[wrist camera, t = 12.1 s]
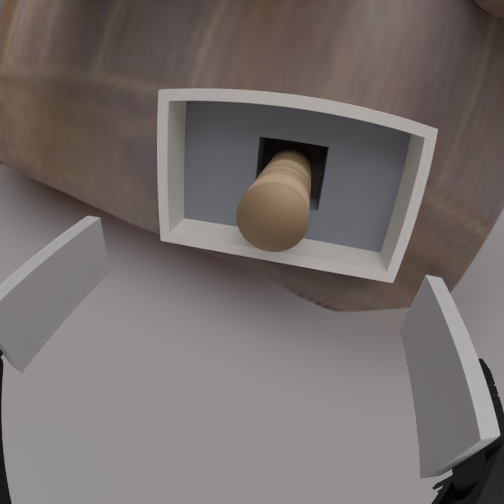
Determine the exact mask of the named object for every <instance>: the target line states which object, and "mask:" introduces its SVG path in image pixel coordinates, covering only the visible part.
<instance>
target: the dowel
mask: <svg viewBox="0 0 504 504" xmlns="http://www.w3.org/2000/svg"><path fill="white" fill-rule="evenodd" d="M311 175H312V163H311V159H310V157H309V156H308V154H307V153H306V152H305V151H304V150H302V149H300V148H298V147H285V148H283V149H281V150H279V151H278V152H277V153H276V154H275V156H274V157H273V158H272V159H271V161H270V162H269V163H268V165H267V166H266V167H265V169H264V170H263V171H262V172H261V174H260V175H259V176H258V178H257V179H256V180H255V182H254V183H253V184H252V186H251V187H250V188H249V190H248V191H247V192H246V194H245V195H244V196H243V198H242V199H241V201H240V202H239V205H238V208H237V212H236V221H237V225H238V228H239V231H240V232H241V234H242V236H243V237H244V238H245V239H246V240H247V241H248V242H249V243H250V244H251V245H253V246H254V247H256V248H258V249H261V250H264V251H268V252H281V251H285V250H288V249H290V248H292V247H294V246H295V245H297V244H298V243H299V242H300V241H301V240H302V239H303V237H304V235H305V233H306V231H307V228H308V220H309V206H310V192H311Z"/></svg>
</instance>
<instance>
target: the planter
mask: <svg viewBox="0 0 504 504" xmlns="http://www.w3.org/2000/svg"><path fill="white" fill-rule="evenodd" d="M473 1H474V2H475V3H476V4H478V5H479V6H480V7H481V8H482V9H484V10H485V11H486V12H488V13H490V14H491V15H493V16H495V17H497V18H500V19H504V0H473Z"/></svg>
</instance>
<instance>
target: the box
mask: <svg viewBox="0 0 504 504" xmlns="http://www.w3.org/2000/svg"><path fill="white" fill-rule="evenodd" d="M437 133H438V129H436V128H433V127H430V126H427V125H424V124H421V123H418V122H415V121H412V120H409V119H405V118H402V117H399V116H395V115H391V114H388V113H384V112H380V111H376V110H372V109H368V108H364V107H360V106H355V105H351V104H346V103H341V102H336V101H330V100H325V99H319V98H313V97H306V96H299V95H292V94H284V93H275V92H265V91H252V90H237V89H162V90H159V92H158V120H157V173H158V202H159V221H160V236H161V241H166V242H171V243H176V244H181V245H187V246H192V247H197V248H203V249H208V250H213V251H219V252H224V253H230V254H235V255H240V256H246V257H251V258H257V259H262V260H268V261H273V262H278V263H284V264H289V265H295V266H300V267H306V268H311V269H317V270H322V271H328V272H334V273H339V274H345V275H350V276H356V277H361V278H367V279H373V280H378V281H384V282H390V283H393V282H394V279H395V277H396V274H397V272H398V269H399V267H400V264H401V261H402V259H403V256H404V253H405V250H406V248H407V245H408V242H409V239H410V236H411V233H412V230H413V227H414V224H415V221H416V218H417V214H418V211H419V208H420V204H421V201H422V197H423V194H424V190H425V186H426V182H427V179H428V174H429V170H430V166H431V162H432V157H433V153H434V148H435V143H436V138H437ZM266 138H274V139H282V140H289V141H295V142H302V143H308V144H314V145H320V146H325V147H326V153H325V159H324V165H323V172H322V177H321V183H320V189H319V195H318V199H316V198H310V206H309V220H308V228H307V231H306V233H305V235H304V237H303V239H302V240H301V241H300V242H299V243H298V244H297V245H295V246H294V247H292V248H290V249H288V250H285V251H281V252H268V251H264V250H261V249H258V248H256V247H254V246H253V245H251V244H250V243H249V242H248V241H247V240H246V239H245V238H244V237H243V236H242V234H241V232H240V231H239V228H238V225H237V221H236V212H237V208H238V205H239V202H240V201H241V199H242V198H243V196H244V195H245V194H246V192H247V191H248V190H249V188H250V187H251V186H252V184H253V183H254V182H255V180H256V179H257V178H258V176H259V175H260V174H261V172H262V169H263V159H264V149H265V139H266Z"/></svg>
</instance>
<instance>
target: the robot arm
mask: <svg viewBox="0 0 504 504" xmlns="http://www.w3.org/2000/svg"><path fill="white" fill-rule="evenodd" d="M109 272H110V268H109V263H108V258H107V253H106V248H105V243H104V237H103V232H102V226H101V220H100V218H99V217H92V216H86V217H85V218H84V219H82V220H81V221H79V222H78V223H76V224H75V225H74V226H72V227H71V228H69V229H68V230H67V231H65V232H64V233H63V234H61V235H60V236H59V237H57V238H56V239H55V240H53V241H52V242H51V243H49V244H48V245H47V246H46V247H44V248H43V249H42V250H40V251H39V252H38V253H37V254H35V255H34V256H33V257H32V258H30V259H29V260H28V261H27V262H26V263H24V264H23V265H22V266H21V267H20V268H19V269H18V270H16V271H15V272H14V273H13V274H12V275H10V276H9V277H8V278H7V279H6V280H5V281H4V282H3V283H2V284H1V285H0V504H11V499H10V494H9V489H8V483H7V477H6V471H5V463H4V454H3V443H2V423H1V397H2V396H1V395H2V376H3V361H2V359H1V356H2V355H3V354H4V356H5V357H6V359H7V360H8V362H9V363H10V364H11V365H12V366H13V367H14V368H16V369H17V370H18V371H20V372H21V373H22V372H23V371H24V369H25V368H26V367H27V366H28V365H29V363H30V362H31V361H32V359H33V358H34V357H35V356H36V354H37V353H38V352H39V351H40V349H41V348H42V347H43V346H44V344H45V343H46V342H47V341H48V340H49V338H50V337H51V336H52V335H53V333H54V332H55V331H56V330H57V329H58V328H59V326H60V325H61V324H62V323H63V322H64V321H65V319H66V318H67V317H68V316H69V315H70V314H71V313H72V312H73V310H74V309H75V308H76V307H77V306H78V305H79V304H80V302H81V301H83V299H84V298H85V297H86V296H87V295H88V294H89V293H90V292H91V291H92V290H93V289H94V288H95V287H96V285H97V284H98V283H99V282H100V281H101V280H102V279H103V278H104V277H105V276H106V275H107V274H108V273H109ZM400 332H401V336H402V341H403V346H404V350H405V355H406V360H407V365H408V370H409V376H410V382H411V387H412V394H413V400H414V407H415V415H416V423H417V432H418V443H419V456H420V476H421V478H428V477H434V476H440V475H442V474H444V473H445V472H447V471H449V470H451V469H452V472H453V475H452V476H450V477H448V478H446V479H444V480H443V481H441V482H439V483H437V484H436V485H435V486H434V487H433V489H434V490H435V489H437V488H439V487H441V486H443V487H442V489H440V490H439V491H438V495H437V496H436V498H435V500H434V501H433V502H432V504H504V412H503V409H502V405H501V402H500V398H499V397H498V392H497V389H496V386H494V384H495V383H494V380H493V377H492V374H491V371H490V369H489V368H488V366H487V365H486V364H485V362H484V361H483V359H478V357H477V355H476V352H475V350H474V347H473V344H472V342H471V339H470V337H469V335H468V332H467V330H466V327H465V325H464V323H463V321H462V318H461V316H460V314H459V312H458V310H457V308H456V305H455V303H454V301H453V299H452V297H451V295H450V293H449V291H448V289H447V287H446V285H445V283H444V281H443V280H442V278H440V277H434V276H429V275H425V278H424V280H423V282H422V284H421V286H420V289H419V291H418V293H417V295H416V297H415V299H414V301H413V303H412V305H411V307H410V309H409V311H408V313H407V315H406V317H405V319H404V321H403V322H402V324H401V326H400Z"/></svg>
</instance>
